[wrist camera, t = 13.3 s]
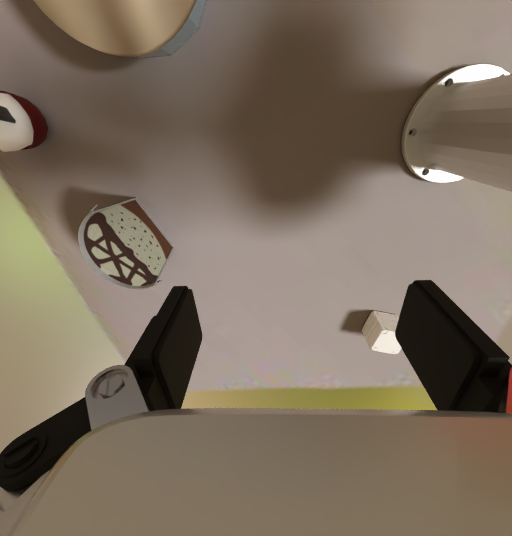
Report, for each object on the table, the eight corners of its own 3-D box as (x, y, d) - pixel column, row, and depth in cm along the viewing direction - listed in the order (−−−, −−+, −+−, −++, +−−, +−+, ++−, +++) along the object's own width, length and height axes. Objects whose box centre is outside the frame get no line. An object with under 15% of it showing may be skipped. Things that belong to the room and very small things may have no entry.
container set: (360, 328, 49) (370, 350, 44) (371, 308, 47) (383, 329, 42) (456, 346, 50) (475, 370, 46) (472, 327, 48) (494, 350, 43)
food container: (99, 208, 39) (51, 233, 30) (128, 188, 37) (86, 209, 29) (152, 269, 44) (124, 305, 36) (180, 254, 42) (157, 288, 34)
